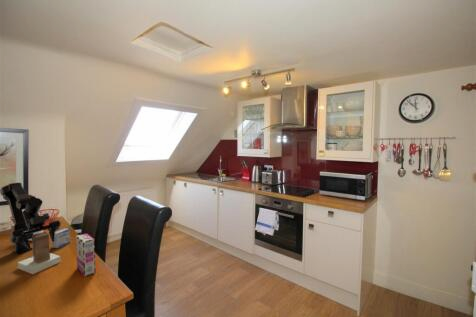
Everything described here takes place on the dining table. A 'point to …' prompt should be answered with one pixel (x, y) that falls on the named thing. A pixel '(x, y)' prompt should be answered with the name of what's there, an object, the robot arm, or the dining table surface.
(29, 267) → the sage base
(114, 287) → the dining table surface
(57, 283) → the dining table surface
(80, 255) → the candy bar box
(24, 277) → the dining table surface
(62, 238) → the medicine box
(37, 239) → the walnut block
